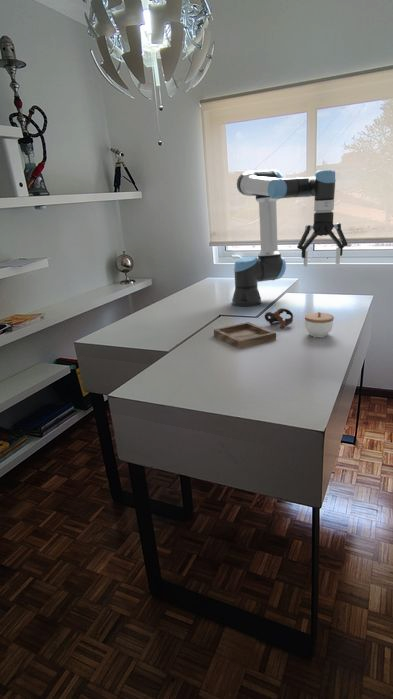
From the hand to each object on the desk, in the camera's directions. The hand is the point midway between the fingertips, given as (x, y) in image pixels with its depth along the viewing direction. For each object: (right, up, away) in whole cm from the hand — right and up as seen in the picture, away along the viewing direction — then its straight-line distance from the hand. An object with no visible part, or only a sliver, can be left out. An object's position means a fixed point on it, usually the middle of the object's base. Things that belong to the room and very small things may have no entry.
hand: (321, 265), depth 175 cm
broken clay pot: (-17, -25, +5) cm, 31 cm away
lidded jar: (-4, -30, -10) cm, 32 cm away
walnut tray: (-33, -31, -8) cm, 46 cm away
